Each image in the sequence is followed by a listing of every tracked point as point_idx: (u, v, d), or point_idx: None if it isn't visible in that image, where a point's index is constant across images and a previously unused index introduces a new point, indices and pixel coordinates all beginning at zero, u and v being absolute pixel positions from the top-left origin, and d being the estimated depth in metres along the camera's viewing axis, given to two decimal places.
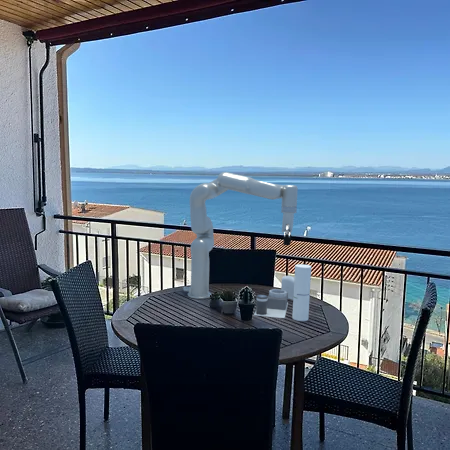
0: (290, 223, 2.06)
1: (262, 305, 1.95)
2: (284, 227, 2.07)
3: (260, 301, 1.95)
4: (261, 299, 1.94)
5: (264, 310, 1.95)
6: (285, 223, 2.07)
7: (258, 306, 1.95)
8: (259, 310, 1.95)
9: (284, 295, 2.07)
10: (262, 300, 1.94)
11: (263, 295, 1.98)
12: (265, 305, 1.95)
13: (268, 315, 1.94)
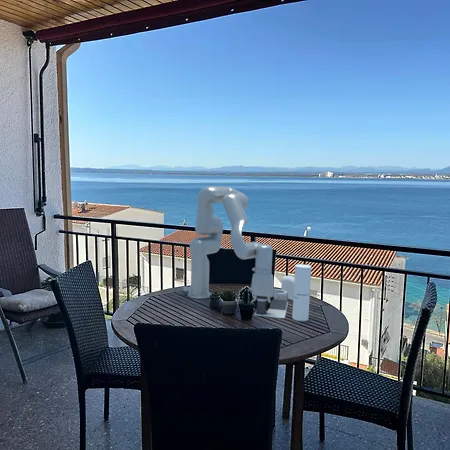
0: (273, 285, 1.96)
1: (262, 304, 1.95)
2: (273, 290, 1.94)
3: (260, 301, 1.95)
4: (261, 299, 1.94)
5: (264, 310, 1.95)
6: (273, 286, 1.94)
7: (258, 306, 1.95)
8: (259, 310, 1.95)
9: (284, 295, 2.07)
10: (262, 300, 1.94)
11: None
12: (265, 305, 1.95)
13: (268, 315, 1.94)
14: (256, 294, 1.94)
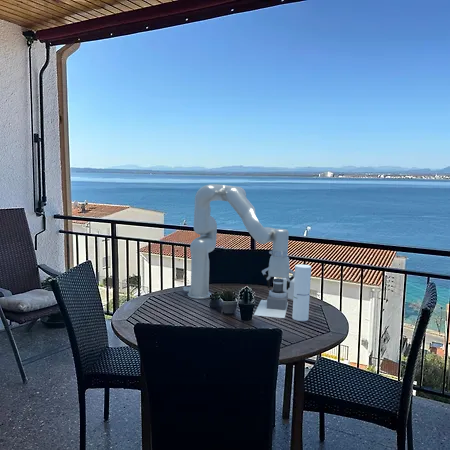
0: None
1: (279, 287, 2.07)
2: None
3: (276, 284, 2.07)
4: (278, 282, 2.07)
5: (280, 292, 2.08)
6: None
7: (275, 289, 2.08)
8: (276, 292, 2.08)
9: (284, 295, 2.07)
10: (279, 283, 2.07)
11: None
12: (281, 288, 2.08)
13: (268, 315, 1.94)
14: (273, 275, 2.07)
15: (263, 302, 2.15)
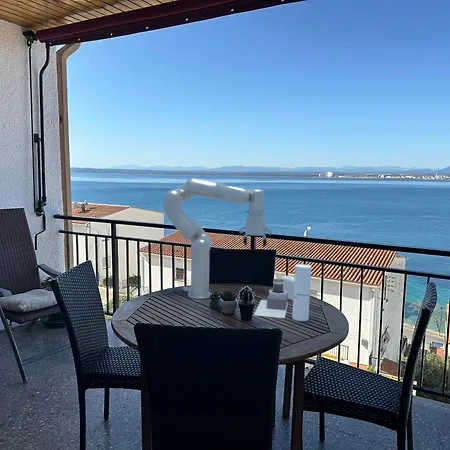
0: None
1: (279, 287, 2.07)
2: (264, 230, 2.17)
3: (276, 284, 2.07)
4: (278, 282, 2.07)
5: (280, 292, 2.08)
6: (264, 226, 2.17)
7: (275, 289, 2.08)
8: (276, 292, 2.08)
9: (284, 295, 2.07)
10: (279, 283, 2.07)
11: None
12: (281, 288, 2.08)
13: (268, 315, 1.94)
14: (250, 233, 2.18)
15: (263, 302, 2.15)
